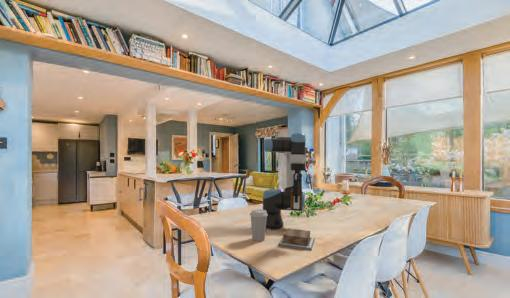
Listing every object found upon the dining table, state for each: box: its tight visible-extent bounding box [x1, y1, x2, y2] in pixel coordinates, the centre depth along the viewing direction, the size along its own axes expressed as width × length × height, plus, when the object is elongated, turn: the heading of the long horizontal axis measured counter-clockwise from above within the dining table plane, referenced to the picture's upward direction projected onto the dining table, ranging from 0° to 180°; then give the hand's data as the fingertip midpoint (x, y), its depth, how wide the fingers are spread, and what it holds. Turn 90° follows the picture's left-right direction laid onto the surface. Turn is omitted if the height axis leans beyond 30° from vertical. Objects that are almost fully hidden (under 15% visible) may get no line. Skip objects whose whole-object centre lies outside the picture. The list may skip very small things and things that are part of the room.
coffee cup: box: [249, 208, 268, 243], centre depth 125 cm, size 10×10×15 cm
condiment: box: [287, 185, 309, 212], centre depth 121 cm, size 7×8×12 cm
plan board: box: [277, 236, 315, 251], centre depth 121 cm, size 16×16×1 cm
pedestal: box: [282, 228, 311, 246], centre depth 121 cm, size 12×12×4 cm
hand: (297, 207), depth 122 cm, fingers closed on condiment, 6 cm apart
